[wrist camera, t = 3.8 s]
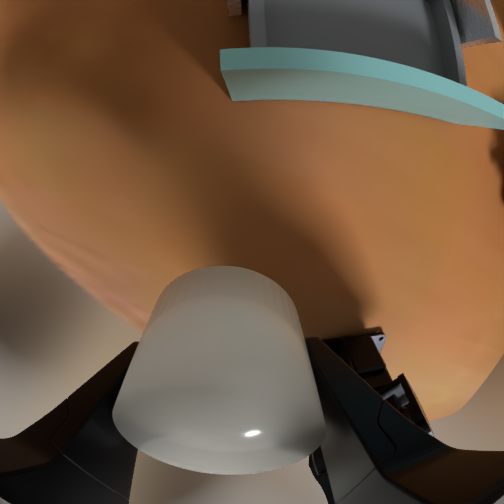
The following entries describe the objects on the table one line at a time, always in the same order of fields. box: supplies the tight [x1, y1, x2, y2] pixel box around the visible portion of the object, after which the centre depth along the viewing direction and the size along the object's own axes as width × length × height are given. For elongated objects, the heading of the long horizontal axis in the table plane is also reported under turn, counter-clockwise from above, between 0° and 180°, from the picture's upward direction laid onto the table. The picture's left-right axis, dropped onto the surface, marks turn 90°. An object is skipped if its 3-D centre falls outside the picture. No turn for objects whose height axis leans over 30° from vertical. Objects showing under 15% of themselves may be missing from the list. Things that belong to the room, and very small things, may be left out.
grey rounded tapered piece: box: [112, 266, 326, 475], centre depth 7 cm, size 5×5×4 cm
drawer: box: [220, 0, 504, 130], centre depth 9 cm, size 11×17×8 cm, turn 92°
